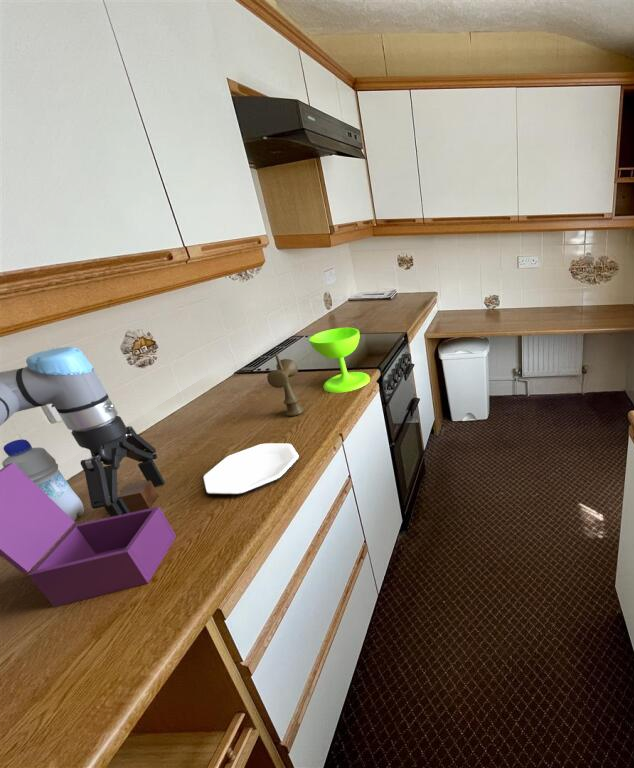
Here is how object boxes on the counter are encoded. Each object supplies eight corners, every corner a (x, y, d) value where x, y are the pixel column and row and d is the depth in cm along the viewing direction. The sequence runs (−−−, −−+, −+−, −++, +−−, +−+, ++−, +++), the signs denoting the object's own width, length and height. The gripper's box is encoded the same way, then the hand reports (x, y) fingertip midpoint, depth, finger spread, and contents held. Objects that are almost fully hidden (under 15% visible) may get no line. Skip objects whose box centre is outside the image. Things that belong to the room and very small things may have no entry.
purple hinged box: (176, 536, 82) (159, 506, 78) (148, 583, 72) (127, 551, 68) (95, 554, 79) (74, 524, 75) (54, 607, 68) (27, 575, 65)
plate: (202, 470, 102) (200, 465, 101) (287, 439, 113) (285, 434, 112) (212, 511, 88) (209, 505, 87) (307, 471, 99) (305, 466, 98)
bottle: (38, 527, 87) (-21, 449, 78) (76, 505, 92) (25, 430, 84) (58, 532, 85) (0, 453, 76) (96, 510, 90) (45, 434, 82)
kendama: (310, 404, 131) (292, 346, 123) (301, 419, 123) (281, 358, 114) (290, 407, 130) (271, 349, 122) (280, 422, 122) (258, 360, 113)
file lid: (13, 462, 68) (7, 464, 68) (-50, 508, 58) (-57, 510, 58) (75, 521, 75) (70, 523, 75) (28, 572, 65) (23, 574, 65)
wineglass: (355, 393, 137) (343, 343, 129) (313, 392, 140) (298, 343, 132) (378, 373, 151) (367, 327, 143) (339, 373, 154) (327, 327, 146)
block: (149, 508, 90) (140, 492, 88) (125, 513, 89) (115, 497, 87) (159, 495, 94) (150, 480, 92) (136, 500, 93) (127, 484, 91)
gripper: (78, 452, 72) (134, 539, 81) (147, 393, 94) (185, 467, 103) (26, 461, 70) (89, 549, 80) (108, 399, 92) (151, 474, 101)
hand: (143, 503), depth 91 cm, fingers open, 13 cm apart
